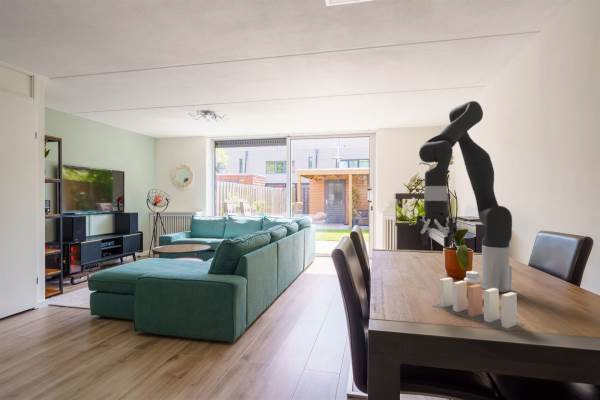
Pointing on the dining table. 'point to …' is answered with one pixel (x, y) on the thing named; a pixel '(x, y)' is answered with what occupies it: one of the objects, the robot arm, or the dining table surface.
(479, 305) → the domino
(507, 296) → the domino
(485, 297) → the domino
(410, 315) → the dining table surface
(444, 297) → the domino
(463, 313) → the mat
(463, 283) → the domino
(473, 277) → the supplement bottle
